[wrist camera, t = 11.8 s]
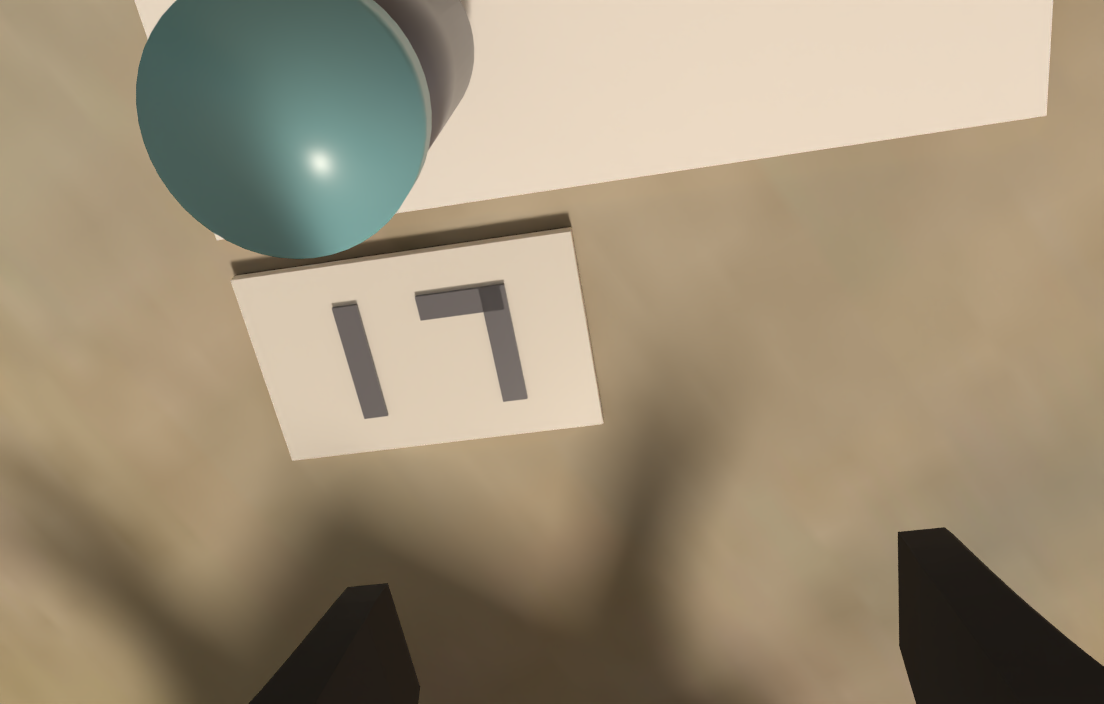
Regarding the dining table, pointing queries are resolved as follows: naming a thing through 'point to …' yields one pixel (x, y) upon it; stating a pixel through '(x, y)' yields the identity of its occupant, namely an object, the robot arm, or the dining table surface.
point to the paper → (715, 84)
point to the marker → (299, 113)
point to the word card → (425, 345)
